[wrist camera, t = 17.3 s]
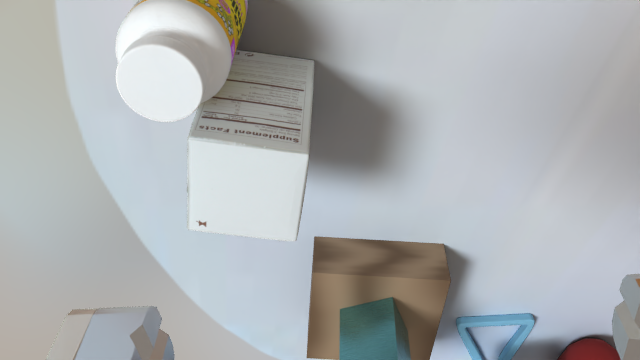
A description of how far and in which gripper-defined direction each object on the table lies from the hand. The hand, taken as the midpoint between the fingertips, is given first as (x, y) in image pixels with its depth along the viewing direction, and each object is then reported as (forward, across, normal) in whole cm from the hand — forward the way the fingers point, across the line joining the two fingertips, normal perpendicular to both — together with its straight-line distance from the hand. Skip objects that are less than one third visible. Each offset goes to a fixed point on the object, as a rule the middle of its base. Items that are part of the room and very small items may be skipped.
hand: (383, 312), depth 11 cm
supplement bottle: (+34, +11, +6) cm, 37 cm away
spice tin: (+30, +1, +36) cm, 47 cm away
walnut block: (+35, +1, +36) cm, 50 cm away
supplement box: (+34, +8, +14) cm, 38 cm away
